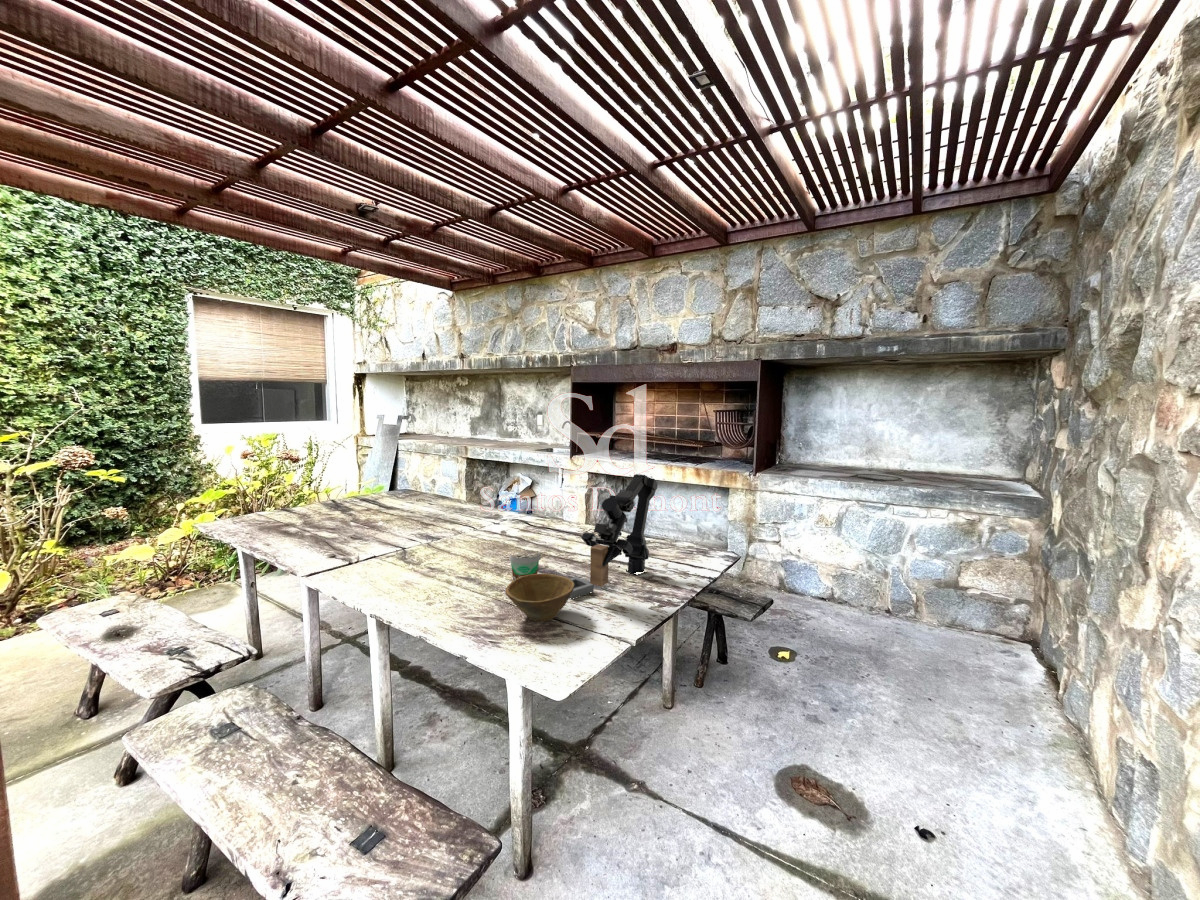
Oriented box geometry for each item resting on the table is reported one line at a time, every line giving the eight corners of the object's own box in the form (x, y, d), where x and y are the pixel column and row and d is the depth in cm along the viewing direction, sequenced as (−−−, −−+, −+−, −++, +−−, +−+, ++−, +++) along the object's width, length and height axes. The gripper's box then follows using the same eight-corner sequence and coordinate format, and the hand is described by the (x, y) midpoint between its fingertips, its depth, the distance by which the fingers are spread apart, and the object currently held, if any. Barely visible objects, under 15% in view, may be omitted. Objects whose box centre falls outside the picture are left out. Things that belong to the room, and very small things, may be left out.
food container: (510, 585, 185) (510, 559, 184) (509, 579, 191) (508, 554, 190) (543, 582, 188) (543, 557, 187) (540, 576, 194) (540, 551, 193)
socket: (576, 584, 187) (576, 576, 186) (593, 592, 179) (593, 584, 179) (555, 590, 180) (555, 583, 180) (571, 599, 173) (571, 591, 172)
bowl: (492, 614, 160) (491, 585, 159) (547, 595, 176) (547, 568, 175) (532, 639, 145) (532, 606, 144) (589, 615, 161) (589, 585, 160)
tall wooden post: (597, 579, 175) (597, 544, 173) (608, 582, 173) (608, 546, 171) (590, 583, 171) (590, 547, 170) (601, 586, 169) (601, 549, 167)
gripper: (584, 510, 177) (565, 547, 170) (629, 517, 167) (611, 558, 159) (596, 526, 185) (578, 563, 177) (640, 534, 175) (623, 574, 167)
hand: (597, 564), depth 170 cm, fingers closed on tall wooden post, 4 cm apart
